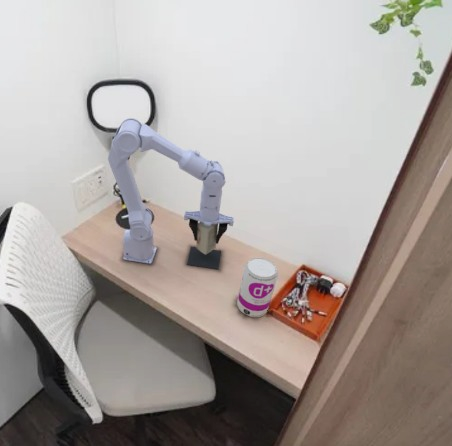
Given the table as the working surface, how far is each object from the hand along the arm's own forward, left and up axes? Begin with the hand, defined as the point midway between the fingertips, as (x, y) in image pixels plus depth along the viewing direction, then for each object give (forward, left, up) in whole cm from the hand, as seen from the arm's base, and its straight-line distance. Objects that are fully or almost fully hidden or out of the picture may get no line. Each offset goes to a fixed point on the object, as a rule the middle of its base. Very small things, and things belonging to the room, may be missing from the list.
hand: (206, 240), depth 105 cm
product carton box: (0, 0, -4) cm, 4 cm away
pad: (0, -1, -7) cm, 7 cm away
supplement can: (+15, -18, -7) cm, 24 cm away
